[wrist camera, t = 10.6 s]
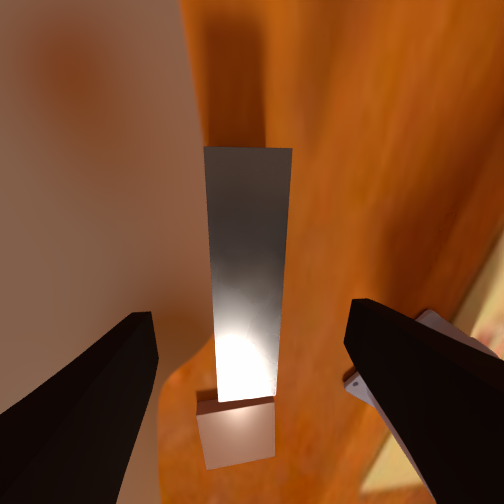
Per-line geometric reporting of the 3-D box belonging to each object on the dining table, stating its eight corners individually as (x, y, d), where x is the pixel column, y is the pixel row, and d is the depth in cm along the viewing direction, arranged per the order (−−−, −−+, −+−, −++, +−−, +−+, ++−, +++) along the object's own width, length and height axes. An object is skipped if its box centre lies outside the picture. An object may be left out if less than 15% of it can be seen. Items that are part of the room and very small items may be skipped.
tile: (196, 415, 17) (206, 470, 20) (274, 402, 18) (274, 456, 21) (197, 397, 19) (207, 450, 21) (270, 385, 20) (271, 437, 22)
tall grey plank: (209, 151, 12) (203, 146, 8) (265, 152, 13) (292, 148, 8) (218, 334, 17) (218, 402, 12) (260, 331, 17) (275, 395, 12)
